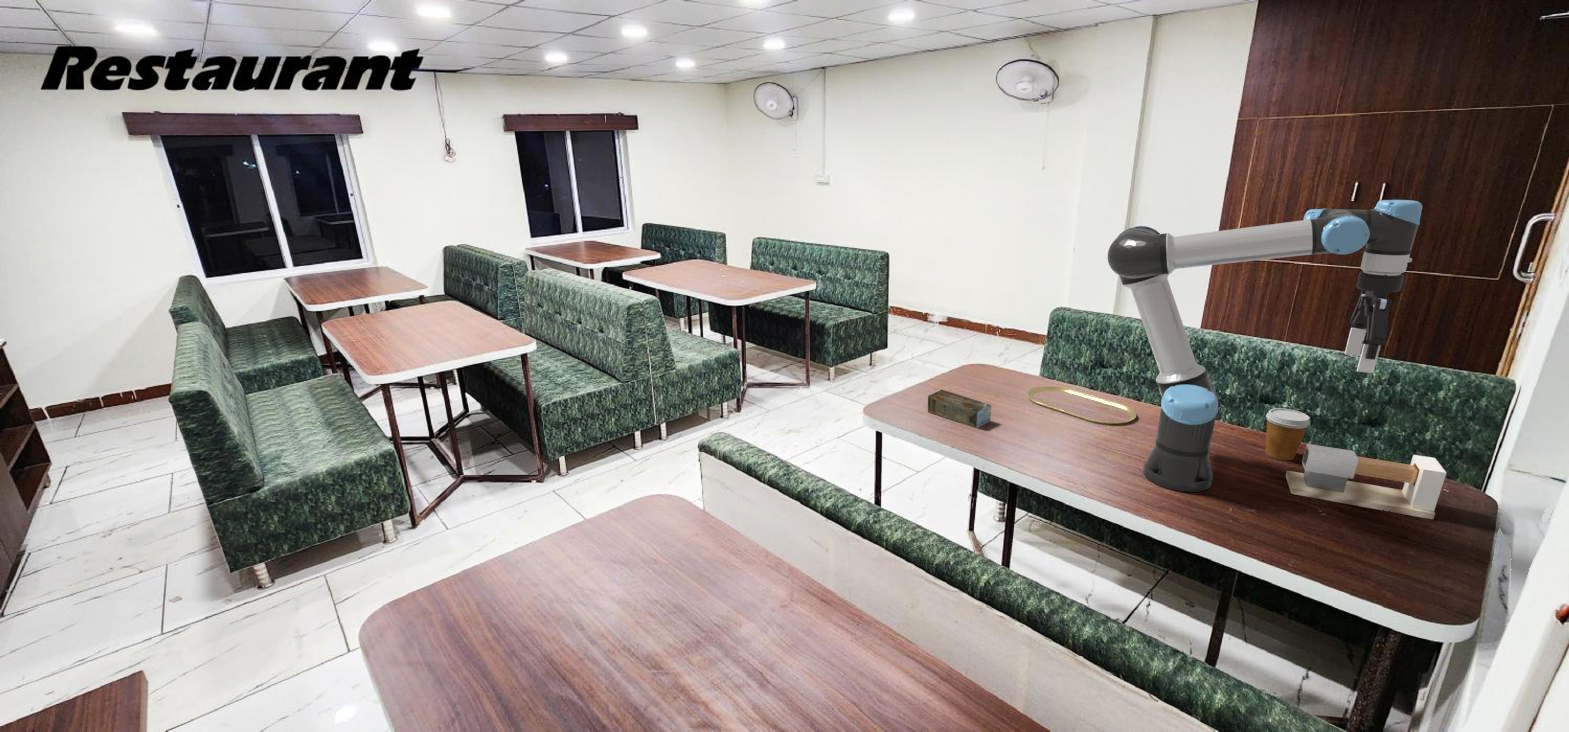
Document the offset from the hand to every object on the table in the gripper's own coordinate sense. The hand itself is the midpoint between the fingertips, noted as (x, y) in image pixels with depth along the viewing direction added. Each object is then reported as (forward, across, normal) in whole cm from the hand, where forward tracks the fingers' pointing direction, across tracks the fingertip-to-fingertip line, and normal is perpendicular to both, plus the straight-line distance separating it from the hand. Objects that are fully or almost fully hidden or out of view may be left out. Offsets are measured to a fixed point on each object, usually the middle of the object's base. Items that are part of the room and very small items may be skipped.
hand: (1358, 363), depth 150 cm
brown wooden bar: (+25, -4, -8) cm, 27 cm away
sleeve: (+30, -4, +2) cm, 30 cm away
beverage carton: (+32, +3, +93) cm, 98 cm away
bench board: (+32, -4, -5) cm, 32 cm away
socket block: (+30, -4, -16) cm, 34 cm away
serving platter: (+32, +28, +60) cm, 74 cm away
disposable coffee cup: (+32, +14, +8) cm, 36 cm away
